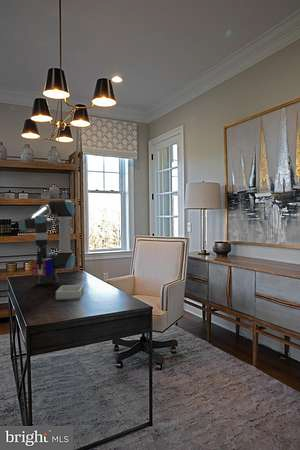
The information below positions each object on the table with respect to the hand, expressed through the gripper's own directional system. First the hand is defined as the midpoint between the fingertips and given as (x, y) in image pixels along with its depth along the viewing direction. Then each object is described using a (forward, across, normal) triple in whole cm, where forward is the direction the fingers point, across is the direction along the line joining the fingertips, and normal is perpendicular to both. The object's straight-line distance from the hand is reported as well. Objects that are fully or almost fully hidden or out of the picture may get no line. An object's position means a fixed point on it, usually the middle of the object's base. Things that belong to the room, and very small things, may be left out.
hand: (42, 272), depth 217 cm
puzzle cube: (+1, 0, 0) cm, 1 cm away
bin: (+16, 0, +17) cm, 23 cm away
